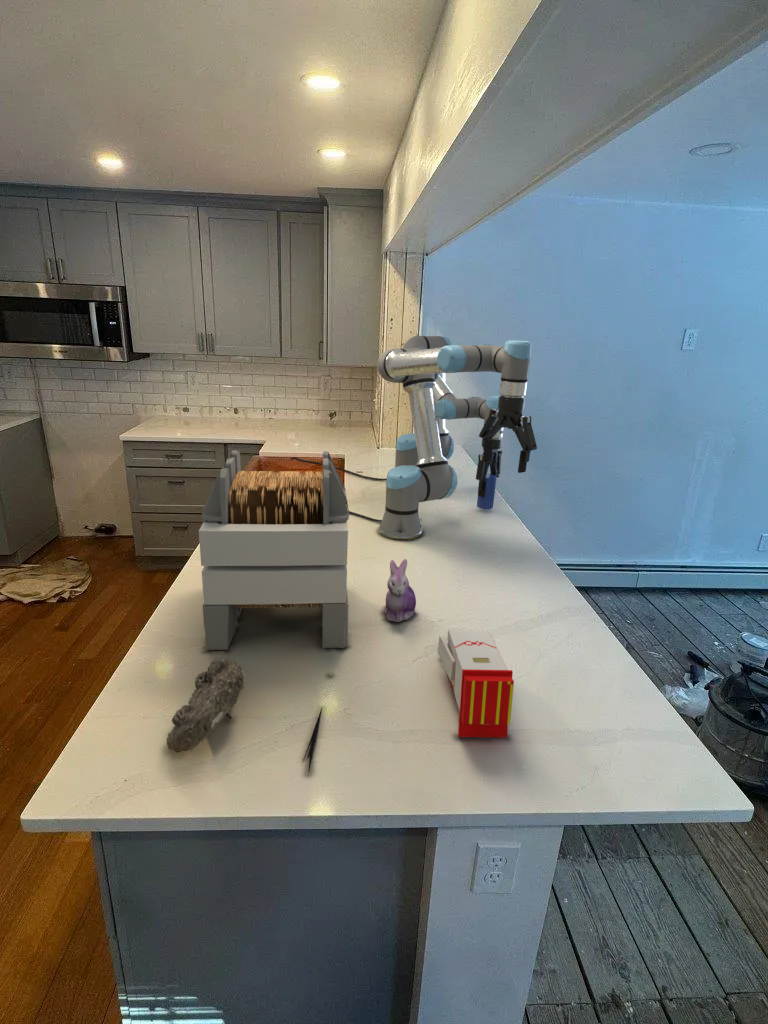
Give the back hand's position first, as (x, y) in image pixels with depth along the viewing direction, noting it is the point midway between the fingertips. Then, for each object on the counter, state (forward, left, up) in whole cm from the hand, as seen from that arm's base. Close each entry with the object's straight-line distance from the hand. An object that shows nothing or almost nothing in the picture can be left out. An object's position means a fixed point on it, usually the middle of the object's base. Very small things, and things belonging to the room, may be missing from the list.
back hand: (486, 494), depth 225 cm
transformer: (+9, -109, -7) cm, 109 cm away
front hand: (+28, -39, +24) cm, 54 cm away
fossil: (+31, -142, -7) cm, 146 cm away
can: (0, 0, -5) cm, 5 cm away
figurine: (+30, -87, -7) cm, 92 cm away
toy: (+61, -100, -7) cm, 118 cm away
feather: (+45, -128, -7) cm, 136 cm away
